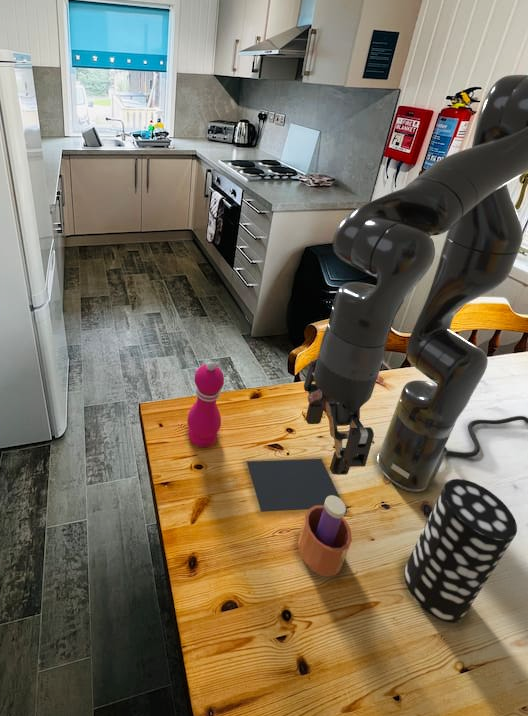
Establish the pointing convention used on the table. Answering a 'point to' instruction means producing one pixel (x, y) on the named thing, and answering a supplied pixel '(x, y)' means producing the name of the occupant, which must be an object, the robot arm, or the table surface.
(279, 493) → the mat
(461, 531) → the white-spotted black cylinder
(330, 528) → the glue stick
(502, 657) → the table surface
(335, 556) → the cup
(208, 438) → the pepper mill
